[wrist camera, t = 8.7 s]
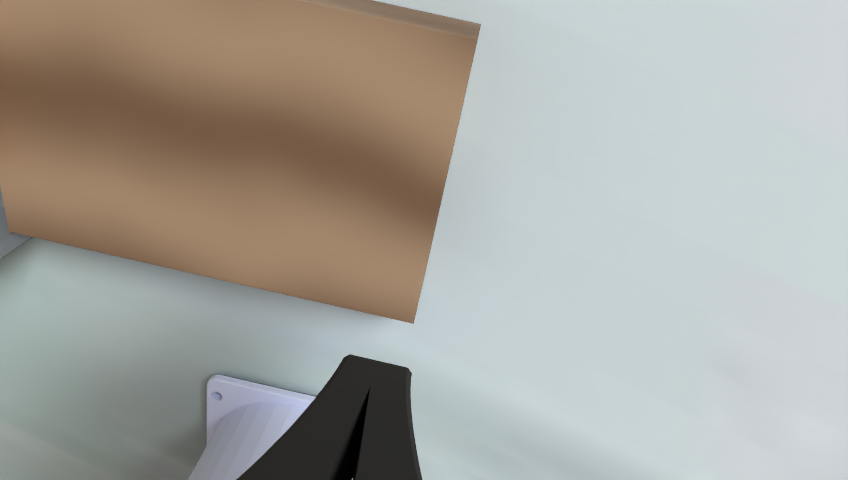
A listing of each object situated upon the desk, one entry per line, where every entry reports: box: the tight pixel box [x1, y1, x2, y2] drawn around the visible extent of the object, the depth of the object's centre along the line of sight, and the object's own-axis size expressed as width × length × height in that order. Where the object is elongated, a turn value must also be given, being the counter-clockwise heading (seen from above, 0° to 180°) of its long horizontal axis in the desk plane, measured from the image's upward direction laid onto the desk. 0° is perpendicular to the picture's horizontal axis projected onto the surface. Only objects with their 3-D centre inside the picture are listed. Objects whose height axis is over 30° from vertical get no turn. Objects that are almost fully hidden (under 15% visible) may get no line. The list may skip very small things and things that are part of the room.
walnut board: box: [0, 0, 481, 324], centre depth 20 cm, size 10×15×2 cm, turn 79°
